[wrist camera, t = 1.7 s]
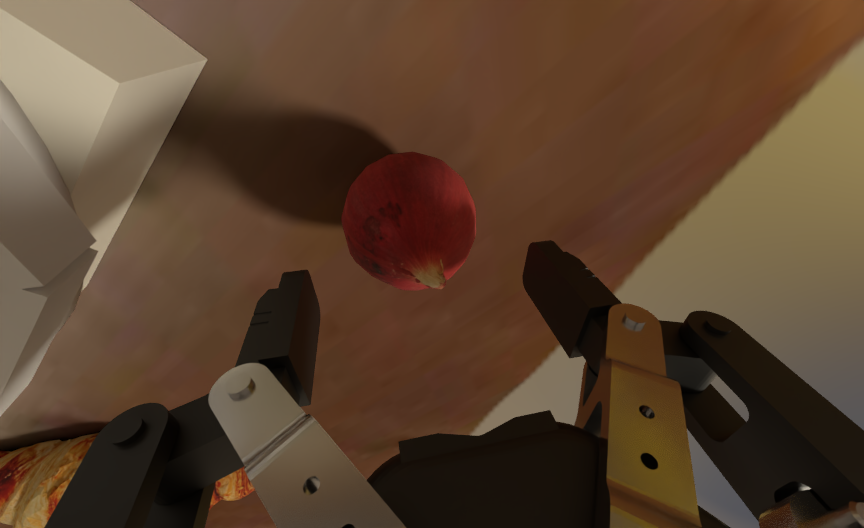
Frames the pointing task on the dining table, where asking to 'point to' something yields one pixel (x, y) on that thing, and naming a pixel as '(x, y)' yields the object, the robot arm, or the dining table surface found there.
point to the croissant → (65, 480)
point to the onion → (409, 221)
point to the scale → (73, 153)
